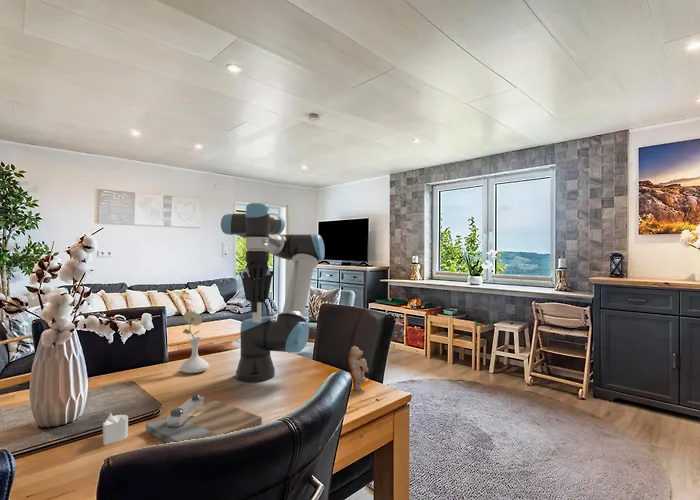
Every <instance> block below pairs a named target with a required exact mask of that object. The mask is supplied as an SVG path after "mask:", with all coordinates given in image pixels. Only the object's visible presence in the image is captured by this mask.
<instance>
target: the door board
mask: <svg viewBox="0 0 700 500" xmlns="http://www.w3.org/2000/svg"><path fill="white" fill-rule="evenodd" d="M262 419H263V418H262V416H260V415H256V414H255V413H251V412H249V411H246V410H244V409H240V408H238V407H236V406H232V405H230V404H227V403H225V402H222V401H219V400H217V399H215V400H212V401H208V402H204V405H203V406H202V407H201V408H200V409H198V410H197V411H196V412H195V413H194V414H193V415H192V416H191V417H189V418H188V419H187V420H186V421H185V422H184V423H183V424H182V425H180V426H167V416H165V417H163V418H159V419H157V420H154V421H151V422H148V423H146V424H145V432H146V433H147V434H149V435H151V436H153V437H154V438H157V439H159V440H160V441H162V442H164V443H166V444H167V443H170V442H179V441H184V440H191V439H199V438H205V437H212V436H217V435H221V434H227V433H230V432H234V431H239V430H242V429H247V428H251V427H254V426H257V427H259V426H261V425H262V424H263V423H262V422H263V421H262ZM258 425H259V426H258ZM254 428H255V427H254Z"/></svg>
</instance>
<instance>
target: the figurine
mask: <svg viewBox="0 0 700 500" xmlns="http://www.w3.org/2000/svg"><path fill="white" fill-rule="evenodd" d="M362 355H364V351H363V350H361V349H360V348H359V347H358V346H356V345H352V346H351V348H350V349H349V351H348V357H347V363H348V367H349V373H350V376H352V377H351V380H352V379H353V380H352V383H353V389H354V390H355V391H360V390H362V387H361V385H362V384H364V383H367V382H369V377H368V378H367V377H365V373H368V372H369V368H368V364H367V361H366V359H365V358H362Z"/></svg>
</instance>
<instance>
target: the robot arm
mask: <svg viewBox="0 0 700 500" xmlns="http://www.w3.org/2000/svg"><path fill="white" fill-rule="evenodd" d="M270 211H271V210H270V206H269V204H267V203H261V202H253V203H248V204H247V205H246V207H245V213H234V212H233V213H226V214H224V215H222V218H220V219H221V220H220V229H221V232H222V233H223V234H225V235H231V236H233V235H236V236H238V237H241V238H242V239H245V250H246V251H245V262H246V265H245V269H244V270H243V271H240V272H239V273H238V274H239V277H240V278H241V281H242V286H243V287H242V288H243V293H244V296H245V301H247V302H249V303H250V312H251V313H252V317H251V318H246V319H244V320H243V321H241V323H240V331H239V333H240V359H239V361H238V364H237V368H236V370H235V379H236V380H237V381H240V382H246V383H248V382H249V383H253V382H255V383H256V382H262V381H266V380H269V379H272V378H274V377H275V375H276V373H275V372H276V371H275V370H276V369H275V367H274V363H273V360H272V357H271V352H281V353H291V354H292V353H300V352H302V351H303V350H304V348H305V347H306V345H307V343H308V340H309V336H310V326H309V325H308V323H307V319H306V318H305V317H304V316H305V315H304V314H305V309H306V306H307V301H308V296H309V291H310V287H311V283H312V276H313V272H314V268H316V267H318V264H319V261H323V260H324V259H325V253H326V252H325V250H326V249H325V243H324V240H323V238H322V236H321V235H320V234H316V233H315V234H313V233H310V234H309V233H308V234H281V233H282V232H284V230H285V228H286V227H285V226H286V224H285V223H286V221H285V219H284V218H283V216H281V214H277V213H273V212H270ZM270 255H271V256H272V255H273V256H275V257H277V258H280V259H284V260H289V261H292V262H293V268H292V272H291V276H290V281H289V285H288V289H287V292H286V293H287V294H286V297H285V299H284V300H285V301H284V305H283V307H282V312H280V313H278V314H277V318H276V320H272V319H271V316H262V314H263V313H262V312H263V310H264V303H265V302H266V300H268V298H269V296H270V295H269V294H270V290H271V289H270V288H271V284H272V279H273V276H274V274H275V271H274V270H271V269H270V268H269V264H268V263H269V261H270Z"/></svg>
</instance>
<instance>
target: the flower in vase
mask: <svg viewBox="0 0 700 500" xmlns="http://www.w3.org/2000/svg"><path fill="white" fill-rule="evenodd" d="M183 314H184V315H183V319H185V320H184V321H185V322H187V324H189V327H188V329H187V328H184V329H183V331H182V334H183V333H184V334H187V335H190V336H191V337H188V338H187V339H188V340H189V342H190V344H191V345H190V346H191V355H190V356H189V358H188V359H187V360H185V361H184V362H183V363H182V364H181V366H179V371H181V372H182V373H186V374H194V373H195V374H197V373H201V372H204V371H206V370H208V369H209V367H210V364H209V363H208V362H207V361H206V360H205V359H204V358H202V357H200V355H199V352H198V351H199V350H198V349H199V342H200V341H201V340H202V337H200V336H194V335H196V334H199V332H200V330H198V331H195V332H194V333H192V331H191V325H192V326H195V327H197V326H200V325H202V321H203V318H202V317H201V314H199V313H198V312H196V311H194V310H193V311H192V310H187V311H185V312H184V313H183Z"/></svg>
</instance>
